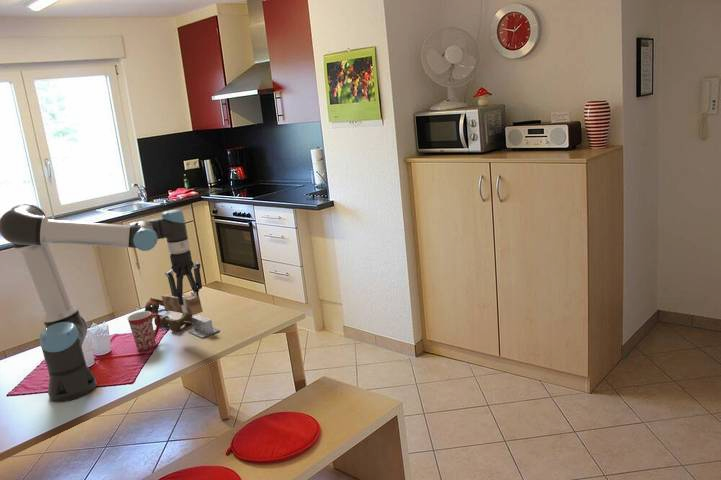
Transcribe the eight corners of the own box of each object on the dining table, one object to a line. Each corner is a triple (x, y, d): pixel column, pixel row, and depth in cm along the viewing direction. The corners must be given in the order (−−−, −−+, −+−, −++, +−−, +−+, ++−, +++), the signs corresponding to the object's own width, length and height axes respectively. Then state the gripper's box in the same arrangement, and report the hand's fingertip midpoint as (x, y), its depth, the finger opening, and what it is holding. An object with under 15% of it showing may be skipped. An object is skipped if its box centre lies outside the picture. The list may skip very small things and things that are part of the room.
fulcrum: (202, 338, 237) (199, 324, 236) (188, 332, 246) (185, 318, 244) (219, 331, 242) (217, 317, 241) (205, 325, 251) (202, 312, 249)
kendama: (167, 322, 262) (201, 324, 253) (151, 331, 254) (185, 334, 245) (164, 309, 261) (198, 311, 251) (148, 318, 253) (182, 321, 243)
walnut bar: (202, 311, 223) (199, 296, 222) (193, 315, 221) (189, 299, 220) (174, 306, 241) (170, 292, 240) (165, 310, 238) (161, 295, 237)
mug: (141, 353, 230) (133, 321, 226) (130, 348, 236) (123, 317, 233) (170, 341, 238) (163, 310, 235) (159, 336, 245) (152, 306, 241)
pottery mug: (142, 314, 276) (147, 297, 278) (163, 318, 280) (167, 301, 281) (144, 315, 265) (148, 297, 267) (165, 319, 269) (170, 301, 270)
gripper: (162, 258, 212) (174, 319, 217) (205, 246, 223) (215, 304, 229) (153, 256, 217) (165, 315, 223) (195, 244, 228) (205, 301, 234)
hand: (190, 310), depth 226 cm, fingers closed on walnut bar, 4 cm apart
